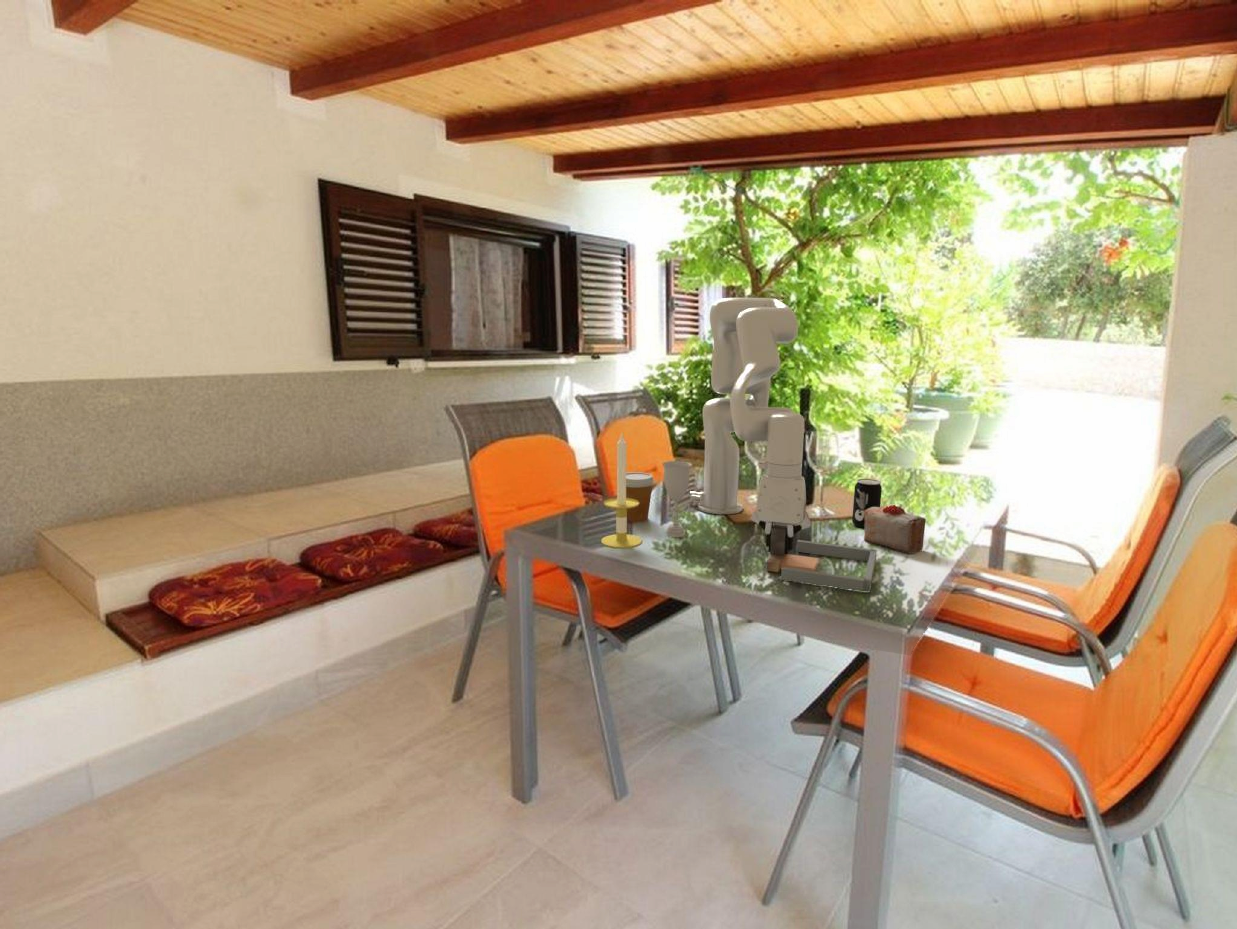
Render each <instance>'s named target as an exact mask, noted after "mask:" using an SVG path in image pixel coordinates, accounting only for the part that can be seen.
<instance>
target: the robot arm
mask: <svg viewBox="0 0 1237 929" xmlns="http://www.w3.org/2000/svg"><path fill="white" fill-rule="evenodd" d="M798 322H799V321H798V317H797V316H796V314H795V311H794V310H793V309H792V308H791V307H790V306H789V305H787V304H785V303H784V302H782V300H780V299H777V298H774V297H773V298H772V297H725V298H719V299H716V300H715V301H714V302H712V305H711V307H710V310H709V325H710V329H711V332H712V333H711V334H712V338H713V350H712V362H711V378H710V384H711V388H712V390H713V391H714V392H715V393H717V394H720V395H730V397H714V398H712V399H709V400H708V401H706V402H705V403H704V405H703V407H702V422H703V423H702V424H703V429H704V430H703V431H704V469H703V470H704V471H703V472H704V474H703V491H700V492H697V491H690V492H689V498H690V500H695V501H696V500H697V501H699V502H698V503H697V508H698V510H699V511H702V512H704V513H706V514H707V513H708V514H713V515H734V514H738V513H740V512H742V511H743V509H744V508H743V504H742V503H741V502H739V501H738V491H739V472H740V471H739V467H740V466H739V464H740V448H739V445H738V443H737V441H736V440H735V439H734V437H733V435H732V433H735V436H736V437H737V438H738V439H739V440H740V441H742V442H766V455H765V456H766V458H765V461H764V462H759V464H758V469H759V470H763V472H764V473H763V474H761V476H760V480H759V485H758V489H757V490H758V492H757V500H756V508H755V510H754V511H753V513H752V514H751V516H750V520H751V521H753V522H754V523H756V524H757V525H759V526H760V527H761V529H762V530H763V531H764V534H766V535H765V536H766V537H765V547H767V552H768V553H770V546H771V528H772V527H773V525H774V524H775V523H778V524H787V529H788V533H787V536H786V537H785V554H790V551H793V548H794V536H795V535H796V534H798V532H800V531H802V530H805V529H808V528H811V527H812V522H811V519H810V517H809V514H808V512H807V511H806V510H807V494H806V493H807V490H806V482H805V481H806V480H805V477H804V476H803V475H802V469H803V454H804V453H803V452H804V439H805V438H804V436H805V435H804V434H805V418H804V416H803V415H802V414H800V413H797V412H795V410H794V409H791V408H790V407H779V406H778V407H777V406H776V407H773V406H772V407H769V406H768V405H769V398H770V397H769V396H770V390H771V381H772V379H771V377H773V376H774V375H776V374H777V373H778V372H779V370H780V368H781V366H782V365H781V359H780V354H779V350H778V344H789V343H793V341H795V339H796V338H797V336H798V331H799V323H798ZM746 395H749V396H748V397H746Z"/></svg>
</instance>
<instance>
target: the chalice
mask: <svg viewBox="0 0 1237 929" xmlns="http://www.w3.org/2000/svg"><path fill="white" fill-rule="evenodd" d="M661 466H663V485H664V487H665V489H666V492H667V494H668V497H669V499H670V500H671V501H673V507H672V509H673V514H672V517H673V522H672V523H671V524H669V525H668V527H667V530H666V532H665V535H666V536H667V537H672V538H683V537H685V536H686V535H687V534H686V532H685V529H684V527H683V526H682V524H681V523H679V517H680V514H679V509H680V507H679V501H682V500H683V498H684V496H685V494H686V493H687V490H688V487H689V485H690V468H691V467H692V463H691V462H688V461H680V460H676V461H675V460H674V461H673V460H670V461H664V462H662V465H661Z"/></svg>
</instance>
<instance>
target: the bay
mask: <svg viewBox="0 0 1237 929" xmlns="http://www.w3.org/2000/svg"><path fill="white" fill-rule="evenodd" d="M877 551H878V550H877V549H873V548H865V547H858V546H849V545H842V544H835V543H834V544H831V543H826V542H818V541H809V540H801V539H798V540H797V541H796V552H798V553H804V554H812V555H819V556H825V557H826V556H827V557H834V558H842V559H849V560H855V561H863V562H867V565H866V569H865V574H864V578H863V577H862V578H861V577H855V576H849V575H841V574H834V573H827V572H821V571H816V570H815V571H808V570H801V569H794V568H787V567H782V570H781V569H780V570H781V571H780V572H781V573H780V574H781V576H780V580H781V581H783V580H786V581H785V582H790V581H793V582H792V583H796V582H803V583H811V584H816V585H826V586H833V587H837V588H843V589H852V590H859V591H871V588H870V586H872V581H873V577H874V572H875V566H876V561H877ZM803 583H802V584H803ZM816 585H815V586H816Z"/></svg>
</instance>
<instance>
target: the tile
mask: <svg viewBox="0 0 1237 929" xmlns="http://www.w3.org/2000/svg"><path fill="white" fill-rule="evenodd" d="M819 560H820V558H819V557H811V556H805V555H798V554H790V553H788V554H786V556H785V558H784V559H783V561H782V563H781V565H780V570H782V567H787V568H794V569H801V570H808V571H815V572H816V570H817V567H818V566H819Z"/></svg>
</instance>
